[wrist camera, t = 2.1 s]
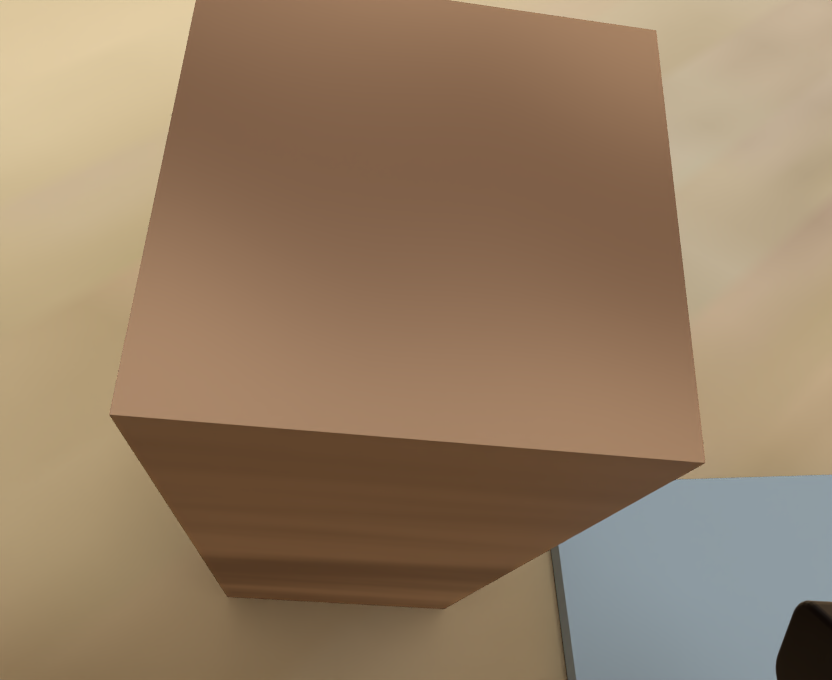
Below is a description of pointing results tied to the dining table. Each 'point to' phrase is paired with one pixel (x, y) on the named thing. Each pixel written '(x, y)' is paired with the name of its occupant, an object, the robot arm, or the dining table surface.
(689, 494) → the slate mat
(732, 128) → the dining table surface
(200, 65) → the walnut block
